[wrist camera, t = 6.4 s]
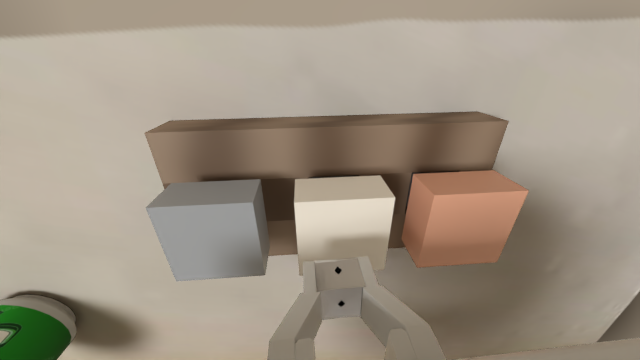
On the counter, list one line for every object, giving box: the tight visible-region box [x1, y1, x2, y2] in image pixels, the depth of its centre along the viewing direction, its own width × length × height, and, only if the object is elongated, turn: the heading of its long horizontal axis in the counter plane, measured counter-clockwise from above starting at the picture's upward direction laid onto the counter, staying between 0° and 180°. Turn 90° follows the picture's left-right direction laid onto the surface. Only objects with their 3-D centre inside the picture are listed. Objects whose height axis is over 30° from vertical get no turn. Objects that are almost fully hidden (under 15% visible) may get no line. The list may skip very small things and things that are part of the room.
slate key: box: [146, 179, 270, 281], centre depth 15 cm, size 5×5×6 cm
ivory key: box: [294, 175, 395, 276], centre depth 15 cm, size 5×5×6 cm
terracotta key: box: [402, 170, 529, 268], centre depth 16 cm, size 5×5×6 cm
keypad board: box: [145, 112, 509, 256], centre depth 18 cm, size 22×10×3 cm, turn 91°
